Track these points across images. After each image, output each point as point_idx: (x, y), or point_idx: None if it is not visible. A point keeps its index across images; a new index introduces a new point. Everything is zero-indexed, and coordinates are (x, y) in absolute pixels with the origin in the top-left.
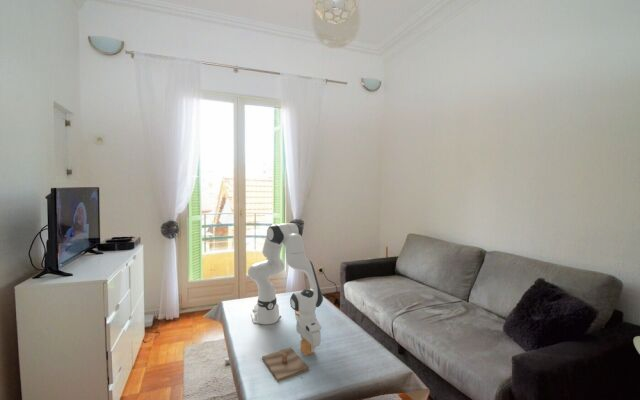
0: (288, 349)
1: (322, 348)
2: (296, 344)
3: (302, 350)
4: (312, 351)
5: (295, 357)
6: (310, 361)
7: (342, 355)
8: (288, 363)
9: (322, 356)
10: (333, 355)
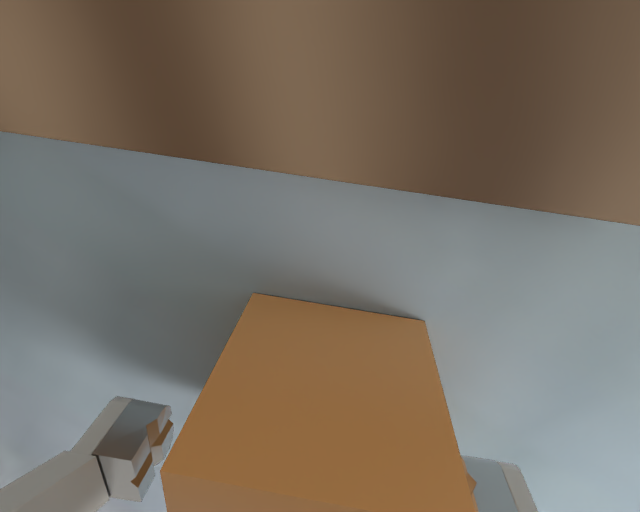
0: (632, 120)
1: None
2: (621, 372)
3: (352, 332)
4: (113, 410)
5: (187, 59)
6: (80, 259)
7: None
8: None
9: None
10: None
